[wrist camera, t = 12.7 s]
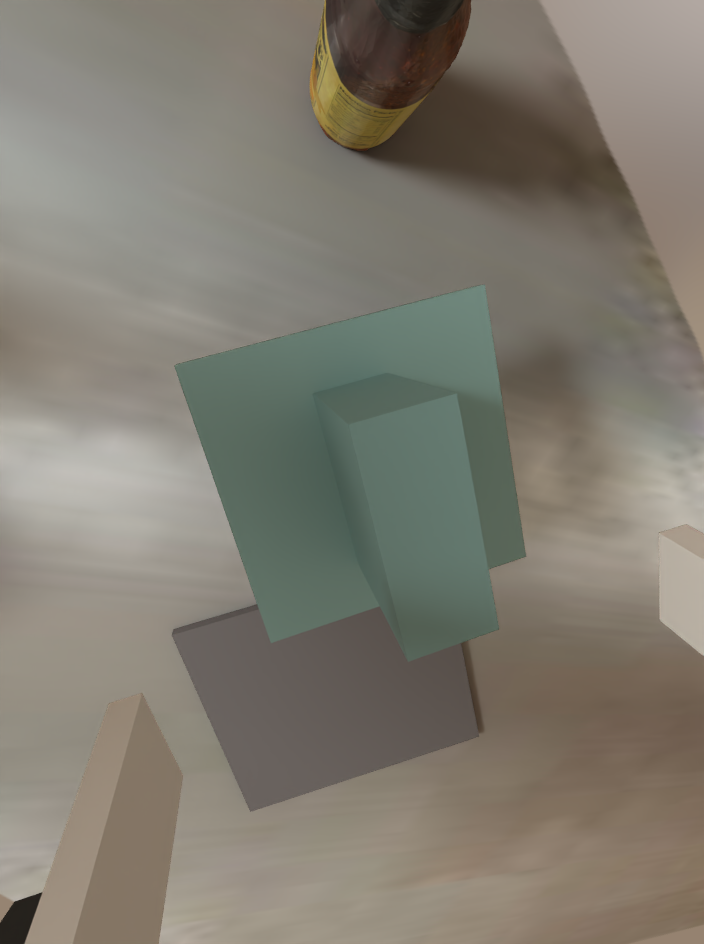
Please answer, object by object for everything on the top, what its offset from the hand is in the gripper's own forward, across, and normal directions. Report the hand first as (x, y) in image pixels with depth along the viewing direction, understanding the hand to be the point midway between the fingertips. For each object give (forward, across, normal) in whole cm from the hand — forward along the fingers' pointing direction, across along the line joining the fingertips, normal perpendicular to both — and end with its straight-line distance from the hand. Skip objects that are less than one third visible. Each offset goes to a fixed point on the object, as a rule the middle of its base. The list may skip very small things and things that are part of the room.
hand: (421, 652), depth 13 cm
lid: (+17, +2, -1) cm, 17 cm away
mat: (+29, -4, -26) cm, 39 cm away
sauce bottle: (+29, +8, +18) cm, 35 cm away
